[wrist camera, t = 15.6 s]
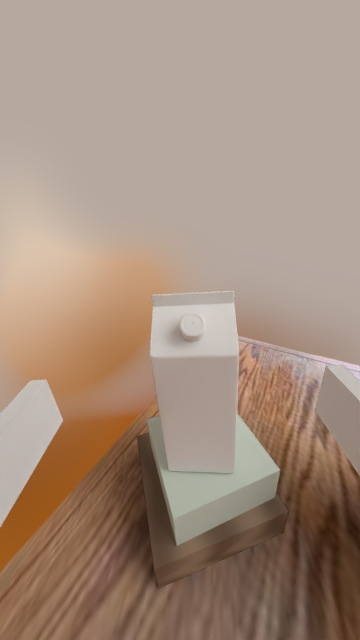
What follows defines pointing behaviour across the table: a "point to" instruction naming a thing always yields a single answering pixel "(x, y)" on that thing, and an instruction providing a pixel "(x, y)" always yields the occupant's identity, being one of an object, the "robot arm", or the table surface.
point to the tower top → (214, 485)
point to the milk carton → (196, 379)
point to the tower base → (208, 545)
